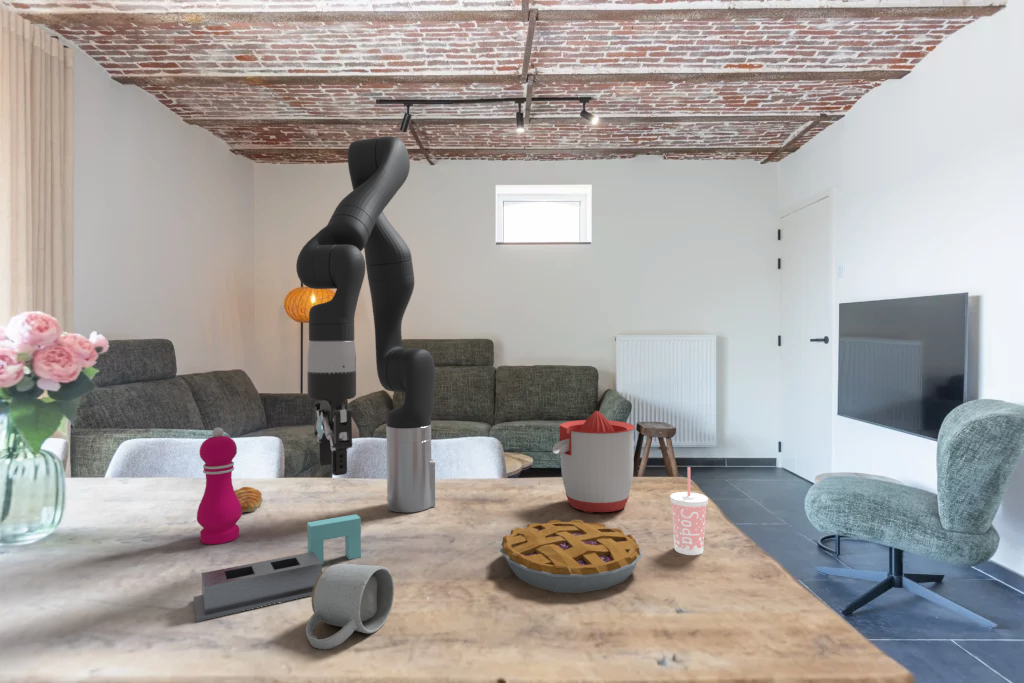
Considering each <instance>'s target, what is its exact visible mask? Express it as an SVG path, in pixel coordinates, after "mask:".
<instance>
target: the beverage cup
mask: <svg viewBox="0 0 1024 683" xmlns="http://www.w3.org/2000/svg"><path fill="white" fill-rule="evenodd" d="M669 499H670V500H669V501H670V502H671V507H672V508H671V511H672V526H673V527H672V529H673V542H674V550H675V551H676V552H677V553H679V554H682V555H686V556H696V555H697V556H699V555H701V554H703V553H704V545H705V543H704V542H705V530H706V529H705V528H706V513H707V505H708V504H709V503H708V502H709V498H708V497H707V496H706V495H705V494H702V493H697V492H691V467H690V466H687V491H681V492H680V491H679V492H674V493H671V494H670V495H669Z"/></svg>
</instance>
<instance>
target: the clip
mask: <svg viewBox="0 0 1024 683" xmlns="http://www.w3.org/2000/svg"><path fill="white" fill-rule="evenodd" d="M361 534H362V518H361V517H360V516H359V515H358V513H357V514H351V515H345V516H344V515H343V516H339V517H338V516H337V517H333V518H327V519H320V520H315V521H313V520H312V521H310V522H309V521H308V522H307V523H306V536H307V537H306V538H307V553H309V552H314V553H315V554H316V556H317V557H318V559H319V560H320V561H321V563H322V566H324V564H325V561H324V559H325V558H324V541H326V540H331V539H337V538H344V543H345V544H344V546H345V547H344V549H345V551H344V553H345V554H344V555H345V557H346V558H347V559H348V560H353V559H358V558H362V545H361V544H362V539H361V538H362V535H361Z"/></svg>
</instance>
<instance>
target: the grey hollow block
mask: <svg viewBox="0 0 1024 683" xmlns="http://www.w3.org/2000/svg"><path fill="white" fill-rule="evenodd" d="M322 572H323V565H322V563H321V561H320V560H319V559H318V557H317V556H316V554H315V553H314V552H309V553H308V552H305V553H299V554H294V555H289V556H284V557H279V558H274V559H268V560H262V561H258V562H257V561H256V562H253V563H247V564H246V563H245V564H241V565H237V566H231V567H227V568H226V567H225V568H222V569H216V570H211V571H206V572H201V594H200V595H194V596H192V597H193V599H192V600H193V606H194V607H193V608H194V613H195V615H194V616H195V621H196V623H199V622H200V623H201V622H204V621H207V620H206V619H209V620H211V619H210V618H213V619H216V618H215V617H217V618H220V617H219V616H222V615H226V616H228V615H227V614H231V613H235V614H237V613H236V612H239V613H241V612H240V611H243V610H248V611H250V610H249V609H252V608H257V607H261V606H265V605H269V604H274V603H279V602H283V603H285V602H284V601H288V602H290V601H289V600H292V601H294V600H293V599H296V600H299V599H298V598H301V599H303V598H302V597H305V598H307V597H306V596H309V597H312V592H313V588H314V585H315V582H316V580H317V578H318V577H319V575H320V574H321V573H322ZM279 604H280V603H279ZM274 605H275V604H274ZM261 608H262V607H261ZM257 609H258V608H257ZM252 610H253V609H252ZM231 615H232V614H231ZM222 617H223V616H222ZM203 620H204V621H203Z"/></svg>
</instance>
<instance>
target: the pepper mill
mask: <svg viewBox="0 0 1024 683" xmlns="http://www.w3.org/2000/svg"><path fill="white" fill-rule="evenodd" d="M224 433H225V432H224V429H223V428H222V427H220V426H219V427H214V429H213V430H212V435H213V436H210V437H209V438H207V439H205V440H204V441H203V442H201V443H202V444H201V445H200V447H199V457H200V459H201V460H202V461H203V462H204V464H203V465H202V468H203V470H202V473H203V474H205V487H204V488H205V489H204V493H203V495H202V498H201V500H200V503H199V505H198V509H197V511H196V521H197V524H199V525H200V526H201V527H202V529H201V530H200V532H199V534H200V535H199V536H200V537H199V538H200V542H201V543H202V544H205V545H220V544H221V543H222V544H225V543H229V542H232V541H235V540H236V539H238V538H239V537H240V526H239V525H238V524H237V522H238V521H239V520H240V519H241V517H242V513H243V512H242V511H241V505H240V502H239V500H238V498H237V496H236V494H235V489H234V486H233V480H232V473H233V471H234V470H235V467H234V465H235V462H234V461H233V459H234V458H235V457H236V455H237V453H238V448H237V444H236V441H235V440H234V439H233V438H231V437H229V436H226V435H224Z"/></svg>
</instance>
